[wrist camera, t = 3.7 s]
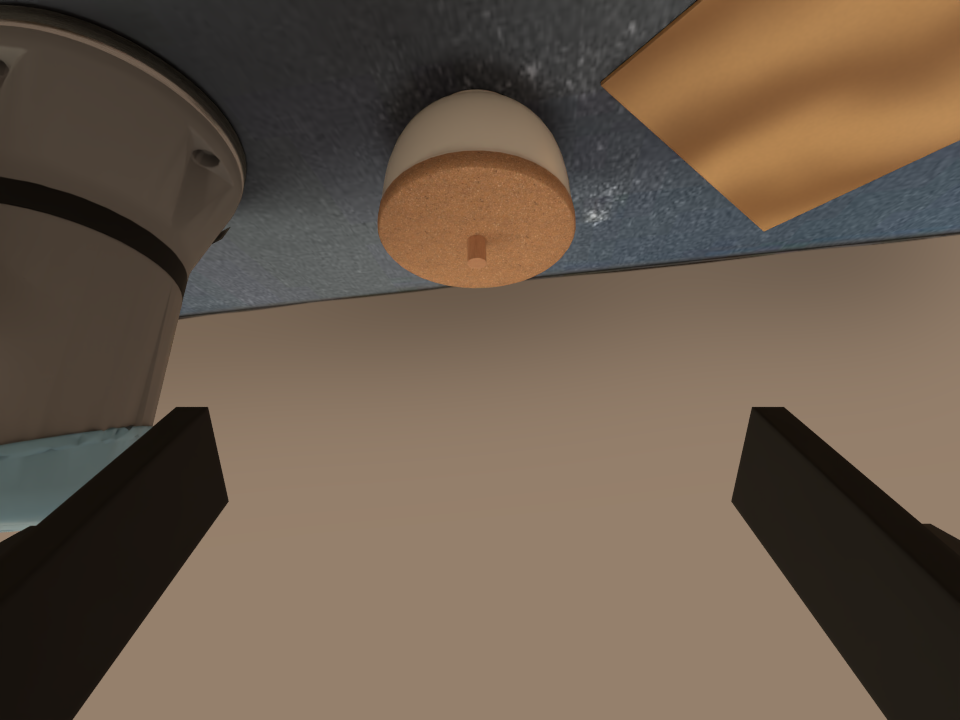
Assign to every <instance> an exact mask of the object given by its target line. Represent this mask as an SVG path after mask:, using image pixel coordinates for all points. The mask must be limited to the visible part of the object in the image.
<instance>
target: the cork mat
mask: <svg viewBox="0 0 960 720" xmlns="http://www.w3.org/2000/svg"><path fill="white" fill-rule="evenodd" d="M601 86H602V87H603V88H604V89H605V90H606V91H607V92H609V93H610V94H611V95H612V96H613V97H614V98H615V99H616V100H617V101H619V102H620V103H621V104H622V105H623V106H624V107H625V108H626V109H628V110H629V111H630V112H631V113H632V114H633V115H634V116H635V117H636V118H638V119H639V120H640V121H641V122H642V123H643V124H644V125H645V126H647V127H648V128H649V129H650V130H651V131H652V132H653V133H654V134H655V135H657V136H658V137H659V138H660V139H661V140H662V141H663V142H664V143H666V144H667V145H668V146H669V147H670V148H671V149H672V150H673V151H674V152H676V153H677V154H678V155H679V156H680V157H681V158H682V159H683V160H685V161H686V162H687V163H688V164H689V165H690V166H691V167H692V168H693V169H695V170H696V171H697V172H698V173H699V174H700V175H701V176H702V177H704V178H705V179H706V180H707V181H708V182H709V183H710V184H711V185H713V186H714V187H715V188H716V189H717V190H718V191H719V192H720V193H721V194H723V195H724V196H725V197H726V198H727V199H728V200H729V201H730V202H732V203H733V204H734V205H735V206H736V207H737V208H738V209H739V210H740V211H742V212H743V213H744V214H745V215H746V216H747V217H748V218H749V219H751V220H752V221H753V222H754V223H755V224H756V225H757V226H758V227H759V228H761V229H762V230H763V231H766V230H768V229H770V228H772V227H774V226H777V225H779V224H781V223H783V222H785V221H787V220H789V219H792V218H794V217H796V216H798V215H800V214H802V213H804V212H807V211H809V210H811V209H813V208H815V207H817V206H819V205H822V204H824V203H826V202H828V201H830V200H832V199H834V198H837V197H839V196H841V195H843V194H845V193H847V192H849V191H852V190H854V189H856V188H858V187H860V186H862V185H864V184H867V183H869V182H871V181H873V180H875V179H877V178H879V177H881V176H884V175H886V174H888V173H890V172H892V171H894V170H896V169H899V168H901V167H903V166H905V165H907V164H909V163H911V162H914V161H916V160H918V159H920V158H922V157H924V156H926V155H929V154H931V153H933V152H935V151H937V150H939V149H941V148H944V147H946V146H948V145H950V144H952V143H954V142H956V141H959V140H960V0H697V1H696V2H695V3H694V4H693V5H691V6H690V7H689V8H688V9H687V10H686V11H684V12H683V13H682V14H681V15H680V16H678V17H677V18H676V19H675V20H674V21H673V22H671V23H670V24H669V25H668V26H667V27H665V28H664V29H663V30H662V31H661V32H660V33H658V34H657V35H656V36H655V37H654V38H652V39H651V40H650V41H649V42H648V43H647V44H645V45H644V46H643V47H642V48H641V49H639V50H638V51H637V52H636V53H635V54H634V55H632V56H631V57H630V58H629V59H628V60H626V61H625V62H624V63H623V64H622V65H620V66H619V67H618V68H617V69H616V70H615V71H613V72H612V73H611V74H610V75H609V76H607V77H606V78H605V79H604V80H603V81H602V82H601Z"/></svg>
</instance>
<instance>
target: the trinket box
mask: <svg viewBox="0 0 960 720" xmlns="http://www.w3.org/2000/svg"><path fill="white" fill-rule="evenodd" d="M378 233H379V236H380V240H381V242H382V244H383V246H384V248H385V249H386V251H387V252H388V253H389V255H390V256H391V257H392V258H393V259H394V260H395V261H396V262H397V263H398V264H400V265H401V266H402V267H403V268H405V269H407V270H408V271H410V272H411V273H413V274H415V275H417V276H420V277H422V278H424V279H427V280H430V281H433V282H436V283H440V284H444V285H449V286H456V287H466V288H487V287H498V286H503V285H509V284H513V283H516V282H520V281H523V280H526V279H528V278H531V277H533V276H535V275H537V274H539V273H541V272H543V271H545V270H546V269H548V268H549V267H551V266H552V265H553V264H555V263H556V262H557V261H558V260H559V259H560V258H561V257H562V256H563V255H564V253H565V252H566V251H567V249H568V248H569V246H570V244H571V242H572V240H573V237H574V233H575V211H574V206H573V203H572V199H571V193H570V186H569V179H568V175H567V172H566V168H565V164H564V160H563V157H562V154H561V152H560V149H559V147H558V145H557V143H556V141H555V139H554V137H553V135H552V133H551V132H550V131H549V129H548V128H547V126H546V125H545V124H544V123H543V121H542V120H541V119H540V118H539V117H538V116H537V115H536V114H535V113H533V112H532V111H531V110H530V109H528V108H527V107H526V106H524V105H523V104H521V103H519V102H518V101H516V100H514V99H511V98H509V97H507V96H503V95H500V94H498V93H496V92H492V91H488V90H480V89H476V90H465V91H460V92H457V93H454V94H452V95H449V96H446V97H443V98H441V99H439V100H437V101H435V102H433V103H431V104H430V105H428V106H427V107H426V108H424V109H423V110H422V111H420V112H419V113H418V114H417V115H416V116H415V117H414V118H413V119H412V120H411V121H410V122H409V123H408V125H407V126H406V128H405V129H404V130H403V132H402V133H401V135H400V136H399V138H398V140H397V142H396V144H395V147H394V149H393V152H392V154H391V156H390V159H389V162H388V166H387V170H386V175H385V180H384V186H383V193H382V199H381V203H380V208H379V213H378Z"/></svg>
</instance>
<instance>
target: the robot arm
mask: <svg viewBox="0 0 960 720" xmlns="http://www.w3.org/2000/svg"><path fill="white" fill-rule="evenodd" d="M246 172H247V168H246V159H245V154H244V151H243V148H242V145H241V143H240V141H239V139H238V137H237V135H236V133H235V131H234V130H233V128H232V126H231V125H230V123H229V122H228V120H227V119H226V118H225V116H224V115H223V114H222V112H221V111H220V110H219V109H218V108H217V106H216V105H215V104H214V103H213V102H212V101H211V100H210V99H209V98H208V97H207V96H206V95H205V94H204V93H203V92H202V91H201V90H200V89H199V88H198V87H197V86H196V85H195V84H193V83H192V82H191V81H190V80H189V79H187V78H186V77H185V76H184V75H182V74H181V73H180V72H179V71H177V70H176V69H175V68H173V67H172V66H170V65H169V64H168V63H166V62H165V61H163V60H162V59H160V58H159V57H157V56H155V55H154V54H152V53H151V52H149V51H147V50H146V49H144V48H142V47H140V46H139V45H137V44H135V43H133V42H131V41H130V40H127V39H125V38H123V37H121V36H119V35H117V34H115V33H113V32H111V31H109V30H106V29H104V28H102V27H99V26H97V25H94V24H92V23H89V22H86V21H83V20H80V19H78V18H75V17H71V16H68V15H64V14H61V13H57V12H53V11H48V10H44V9H39V8H33V7H26V6H15V5H0V532H13V531H20V532H18V533H16V534H14V535H13V536H11V537H9V538H7V539H6V540H4V541H2V542H0V720H73V718H74V717H75V715H76V714H77V713H78V711H79V710H80V708H81V707H82V706H83V704H84V703H85V701H86V700H87V699H88V697H89V696H90V694H91V693H92V692H93V690H94V689H95V687H96V686H97V685H98V683H99V682H100V681H101V679H102V678H103V676H104V675H105V673H106V672H107V671H108V669H109V668H110V666H111V665H112V664H113V662H114V661H115V659H116V658H117V657H118V655H119V654H120V653H121V651H122V650H123V648H124V647H125V646H126V644H127V643H128V641H129V640H130V639H131V637H132V636H133V634H134V633H135V632H136V630H137V629H138V627H139V626H140V625H141V623H142V622H143V620H144V619H145V618H146V616H147V615H148V613H149V612H150V611H151V609H152V608H153V606H154V605H155V604H156V602H157V601H158V599H159V598H160V597H161V595H162V594H163V592H164V591H165V590H166V588H167V587H168V585H169V584H170V583H171V581H172V580H173V578H174V577H175V576H176V574H177V573H178V571H179V570H180V569H181V567H182V566H183V564H184V563H185V562H186V560H187V559H188V557H189V556H190V555H191V553H192V552H193V550H194V549H195V548H196V546H197V545H198V543H199V542H200V541H201V539H202V538H203V537H204V535H205V534H206V532H207V531H208V530H209V528H210V527H211V525H212V524H213V522H214V521H215V520H216V518H217V517H218V516H219V514H220V513H221V511H222V510H223V508H224V507H225V506H226V504H227V503H228V496H227V492H226V487H225V483H224V478H223V474H222V469H221V465H220V460H219V455H218V451H217V446H216V442H215V437H214V432H213V428H212V423H211V419H210V414H209V410H208V407H176V408H175V409H173V410H172V411H171V412H170V413H169V414H167V415H166V416H165V417H164V418H163V419H161V420H160V421H159V422H158V423H157V424H156V425H154V426H153V422H154V418H155V413H156V409H157V405H158V401H159V397H160V393H161V389H162V384H163V380H164V376H165V372H166V368H167V363H168V360H169V355H170V351H171V347H172V343H173V339H174V335H175V330H176V326H177V322H178V318H179V314H180V310H181V306H182V300H183V297H184V293H185V289H186V285H187V281H188V277H189V274H190V272H191V271H192V269H193V268H194V267H195V265H196V264H197V263H198V261H199V260H200V259H201V258H202V256H203V255H204V254H205V252H206V251H207V250H208V248H209V247H210V246H211V244H213V243H215V242H217V241H219V240H221V239H222V238H223V237H224V235H225V234H226V233H227V231H228V230H229V228H230V227H229V228H227V229H226V230H224V231H222V230H223V228H224V227H225V226H226V224H227V223H228V222H229V220H230V219H231V218H232V216H233V215H234V213H235V211H236V209H237V207H238V204H239V202H240V200H241V197H242V193H243V189H244V184H245V180H246ZM221 231H222V232H221ZM732 503H733V504H734V506H735V507H736V509H737V510H738V511H739V513H740V514H741V516H742V517H743V518H744V520H745V521H746V523H747V524H748V525H749V527H750V528H751V530H752V531H753V532H754V534H755V535H756V537H757V538H758V539H759V541H760V542H761V544H762V545H763V546H764V548H765V549H766V550H767V552H768V553H769V555H770V556H771V557H772V559H773V560H774V562H775V563H776V564H777V566H778V567H779V569H780V570H781V571H782V573H783V574H784V576H785V577H786V578H787V580H788V581H789V583H790V584H791V585H792V587H793V588H794V590H795V591H796V592H797V594H798V595H799V597H800V598H801V599H802V601H803V602H804V604H805V605H806V606H807V608H808V609H809V611H810V612H811V613H812V615H813V616H814V618H815V619H816V620H817V622H818V623H819V625H820V626H821V627H822V629H823V630H824V631H825V633H826V634H827V636H828V637H829V638H830V640H831V641H832V643H833V644H834V646H835V647H836V648H837V650H838V651H839V653H840V654H841V655H842V657H843V658H844V660H845V661H846V662H847V664H848V665H849V667H850V668H851V669H852V671H853V672H854V674H855V675H856V676H857V678H858V679H859V681H860V682H861V683H862V685H863V686H864V687H865V689H866V690H867V692H868V693H869V694H870V696H871V697H872V699H873V700H874V701H875V703H876V704H877V706H878V707H879V708H880V710H881V711H882V713H883V714H884V715H885V717H886V718H887V720H960V540H959V539H957V538H955V537H953V536H951V535H950V534H948V533H946V532H944V531H942V530H941V529H939V528H937V527H935V526H933V525H932V524H921V523H920V522H919V521H918V520H917V519H916V518H914V517H913V516H912V515H911V514H910V513H908V512H907V511H906V510H905V509H904V508H903V507H901V506H900V505H899V504H898V503H897V502H895V501H894V500H893V499H892V498H891V497H890V496H888V495H887V494H886V493H885V492H884V491H882V490H881V489H880V488H879V487H878V486H877V485H875V484H874V483H873V482H872V481H871V480H869V479H868V478H867V477H866V476H865V475H864V474H862V473H861V472H860V471H859V470H858V469H856V468H855V467H854V466H853V465H852V464H851V463H849V462H848V461H847V460H846V459H845V458H843V457H842V456H841V455H840V454H839V453H837V452H836V451H835V450H834V449H833V448H832V447H830V446H829V445H828V444H827V443H826V442H824V441H823V440H822V439H821V438H820V437H819V436H817V435H816V434H815V433H814V432H813V431H811V430H810V429H809V428H808V427H807V426H806V425H804V424H803V423H802V422H801V421H800V420H799V419H797V418H796V417H795V416H794V415H793V414H791V413H790V412H789V411H788V410H787V409H785V408H784V407H752V410H751V414H750V419H749V423H748V428H747V432H746V437H745V442H744V446H743V451H742V455H741V460H740V464H739V469H738V473H737V478H736V483H735V487H734V492H733V496H732Z"/></svg>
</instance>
